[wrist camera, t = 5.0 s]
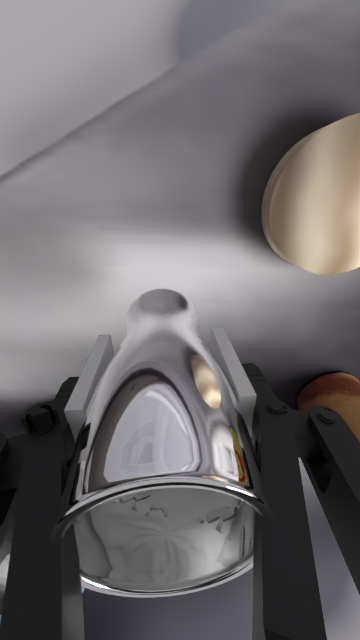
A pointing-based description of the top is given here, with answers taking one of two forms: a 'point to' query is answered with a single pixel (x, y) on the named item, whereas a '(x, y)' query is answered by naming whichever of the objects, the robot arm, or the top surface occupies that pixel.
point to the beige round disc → (317, 200)
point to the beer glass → (162, 464)
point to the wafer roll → (334, 397)
